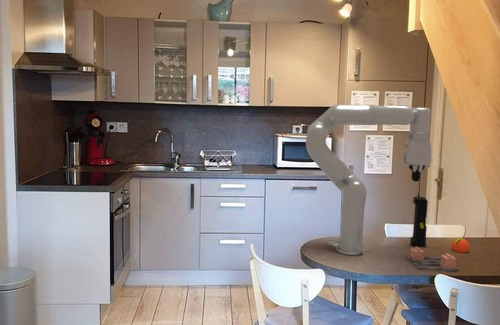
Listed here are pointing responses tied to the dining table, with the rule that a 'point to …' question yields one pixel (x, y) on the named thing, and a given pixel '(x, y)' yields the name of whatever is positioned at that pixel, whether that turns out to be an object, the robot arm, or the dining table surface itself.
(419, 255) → the tab far
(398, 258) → the dining table surface
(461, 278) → the dining table surface
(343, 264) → the dining table surface
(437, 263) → the switch board
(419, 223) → the portable radio
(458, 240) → the clementine
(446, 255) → the pink block
